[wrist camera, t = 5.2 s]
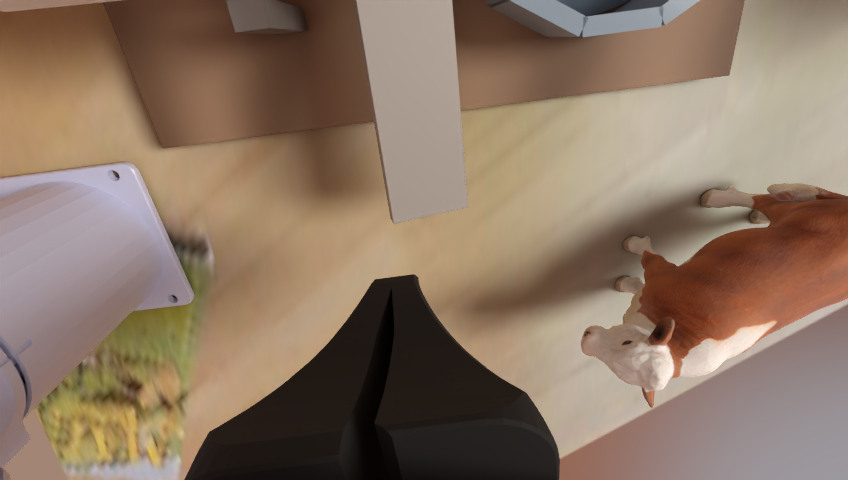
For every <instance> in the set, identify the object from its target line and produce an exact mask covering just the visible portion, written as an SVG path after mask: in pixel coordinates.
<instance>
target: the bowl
mask: <svg viewBox="0 0 848 480" xmlns="http://www.w3.org/2000/svg"><path fill="white" fill-rule="evenodd" d="M698 1H700V0H485V2H486V3H487V5H488V6H489V5H491V4H492V6H491V9H493V10H495V11H497V12H499V13H501V14H503V15H505V16H507V17H509V18H510V19H512V20H514V21H516V22H518V23H520V24H522V25H524V26H526V27H528V28H530V29H532V30H534V31H536V32H538V33H540V34H542V35H544V36H546V37H550V38H564V37H589V36H596V35H604V34H612V33H619V32H627V31H634V30H642V29H649V28H657V27H661V25H666V24H668V23H669V22H670V21H672V20H673V19H675V18H676V17H677V16H679V15H680V14H682V13H683V12H684V11H686V10H687V9H689V8H690V7H691V6H693V5H694V4H696V3H697V2H698ZM625 2H626V3H625ZM623 3H625V4H623ZM621 4H623V5H622V6H621V7H619V8H618V9H617V10H615V11H614V12H613V13H607V14H599V13H602V12H605V11H607V10H610V9H613V8H615V7H617V6H619V5H621ZM594 14H599V15H594ZM589 15H592V16H589Z"/></svg>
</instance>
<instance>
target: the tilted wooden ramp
mask: <svg viewBox="0 0 848 480" xmlns="http://www.w3.org/2000/svg"><path fill="white" fill-rule="evenodd" d="M111 1H121V0H0V11H3V12H12V11H22V10H32V9H42V8H52V7H62V6H72V5H82V4H92V3H101V2H111ZM354 6H355V12H356V18H357V24H358V30H359V36H360V41H361V47H362V53H363V59H364V65H365V71H366V77H367V83H368V88H369V94H370V100H371V106H372V112H373V118H374V124H375V129H376V135H377V141H378V147H379V153H380V159H381V165H382V171H383V176H384V182H385V188H386V194H387V200H388V206H389V212H390V217H391V220H392V222H393V223H394V224H396V223H400V222H405V221H409V220H414V219H418V218H423V217H427V216H431V215H436V214H440V213H445V212H449V211H454V210H458V209H463V208H467V207H468V201H467V188H466V175H465V162H464V149H463V136H462V123H461V110H460V96H459V83H458V70H457V57H456V44H455V31H454V18H453V5H452V0H354Z"/></svg>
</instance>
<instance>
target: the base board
mask: <svg viewBox="0 0 848 480" xmlns="http://www.w3.org/2000/svg"><path fill="white" fill-rule="evenodd" d="M625 3H626V2H625ZM625 3H623V4H625ZM103 4H104V6H105V8H106V11H107V13H108V16H109V18H110V21H111V23H112V26H113V28H114V30H115V33H116V35H117V38H118V40H119V43H120V45H121V47H122V50H123V52H124V55H125V57H126V60H127V62H128V64H129V67H130V69H131V72H132V74H133V77H134V79H135V82H136V84H137V86H138V89H139V91H140V94H141V96H142V99H143V101H144V103H145V106H146V108H147V111H148V113H149V116H150V118H151V121H152V123H153V125H154V128H155V130H156V133H157V135H158V138H159V140H160V142H161V145H162V147H163V148H171V147H179V146H187V145H194V144H202V143H210V142H218V141H225V140H233V139H241V138H249V137H256V136H264V135H272V134H279V133H287V132H295V131H303V130H310V129H318V128H326V127H334V126H341V125H349V124H357V123H365V122H372V121H374V118H373V112H372V106H371V100H370V94H369V88H368V83H367V77H366V71H365V65H364V59H363V53H362V47H361V41H360V36H359V30H358V24H357V18H356V12H355V6H354V0H121V1H111V2H103ZM623 4H621V5H619V6H617V7H615V8H613V9H610V10H607V11H605V12H602V13H599V14H607V13H613V12H614V11H615V10H617V9H618V8H619V7H621V6H622V5H623ZM452 5H453V18H454V31H455V44H456V57H457V70H458V83H459V96H460V110H465V109H473V108H481V107H488V106H496V105H504V104H512V103H519V102H527V101H535V100H543V99H550V98H558V97H566V96H573V95H581V94H589V93H597V92H604V91H612V90H620V89H628V88H635V87H643V86H651V85H659V84H666V83H674V82H682V81H689V80H697V79H705V78H713V77H720V76H728V75H729V74H730V69H731V64H732V59H733V55H734V50H735V45H736V40H737V35H738V30H739V25H740V20H741V15H742V10H743V5H744V0H700V1H698V2H697V3H696V4H694V5H693V6H691V7H690V8H689V9H687V10H686V11H684V12H683V13H682V14H680V15H679V16H677V17H676V18H675V19H673V20H672V21H670V22H669V23H668V24H666V25H661V27H657V28H649V29H642V30H634V31H627V32H619V33H612V34H604V35H596V36H589V37H564V38H550V37H546V36H544V35H542V34H540V33H538V32H536V31H534V30H532V29H530V28H528V27H526V26H524V25H522V24H520V23H518V22H516V21H514V20H512V19H510V18H509V17H507V16H505V15H503V14H501V13H499V12H497V11H495V10H493V9H491V6H492V4H491V5H489V6H488V5H487V3H486V2H485V0H452ZM599 14H594V15H599ZM589 16H592V15H589Z"/></svg>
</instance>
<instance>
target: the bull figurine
mask: <svg viewBox="0 0 848 480" xmlns="http://www.w3.org/2000/svg"><path fill="white" fill-rule="evenodd" d="M767 190H768V192H769V193H770V194H765V195H762V194H747V193H743V192H740V191H738V190H736V189H735V188H734V187H728V189H727V190H726V191H722V190H716V189H711V190H709V191H707V192H706V193H705V194H704V195H703V196H702V198H701V204H702V206H703V207H708V208H710V207H714V208H721V207H730V206H742V207H749V208H752V209H755V210H754V211H753V212H752V213H751V215H750V219H751V221H752V223H754V224H767V223H770V225H769V226H768V227H766V228H751V229H744V230H738V231H734V232H730V233H727V234H725V235H722V236H720V237H717V238H715V239H714V240H712V241H711V242H709V243H708V244H706V245H705V246H704V247H702V248H701V249H700V250H699V251H698V252H697V253H696V254H695V255H693V256H692V257H691V258H690V259H689V260H687V261H686V262H684V263H683V264H682V265H681V266H679V267H677V266H676V265H675V264H672V263H669V262H667V261H666V260H665V259H664V258H663V257H662V256H660V255H658V254H656V253H655V252H654V250H653V247H652V245H651V240H650V238H649V237H647V236H646V237H644V238H639V237H637V236H630V237H628V238H627V239H626V240H625V241H624V243H623V248H624V249H625V250H626V251H629V252H632V253H635V254H640V255H641V256H642V260H641V264H642V266H643V268H644V269H645V272H644V278H645V284H643V283H642V281H641V279H640V278H639V277H637V276H636V277H635V278H629V277H627V276H624V277H621V278H619V279H618V280H617V281H616V283H615V288H616V290H617V291H619V292H631V293H633V294H635V295H634V296H633V298H632V301H631V306H630V307H629V309H628V310H627V311H626V313H625V314H624V316H623V324H622V325H618V326H613V327H611V328H610V329H604V328H603V327H601V326H590V327H588V328H587V329H586V330H585V332H584V334H583V337H582V341H581V347H582V351H583V353H584V354H586V355H588V356H594V357H597V358H598V359H600V360H601V361H603V362H604V363H605V364H606V365H607V366H608V367H609V368H610V369H611V370H612V371H613V372H614V373H615V374H616V375H617V376H618V377H619V378H620V379H622V380H623V381H625V382H627V383H629V384H631V385H638V386H641V387H642V391H643V395H644V397H645V399H646V400H647V402H648V404H649V406H650V407H653V405H654V391H658V390H661V389H663V388H664V387H665V385H666V384H667V382H668V380H669V379H670V378H674V377H697V376H702V375H705V374H708V373H710V372H712V371H714V370H715V369H716V368H718V367H719V366H720V365H721V364H722V363H723V361H724V360H727V359H729V358H731V357H734V356H736V355H739V354H741V353H743V352H745V351H746V350H748V349H749V348H750V347H751V346H753V345H754V344H755V343H756V342H757V341H759V340H760V339H761V338H763V337H765V336H767V335H768V334H770V333H772V332H774V331H776V330H779V329H781V328H782V327H784V326H786V325H788V324H790V323H792V322H794V321H796V320H799V319H801V318H803V317H805V316H806V315H808V314H810V313H812V312H814V311H816V310H819V309H821V308H824V307H826V306H829V305H832V304H835V303H838V302H840V301H843V300H845V299H847V298H848V196H845V195H841V194H837V193H833V192H830V191H827V190H825V189H822V188H819V187H815V186H811V185H806V184H775V185H771V186H769V187H768V188H767Z"/></svg>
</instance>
